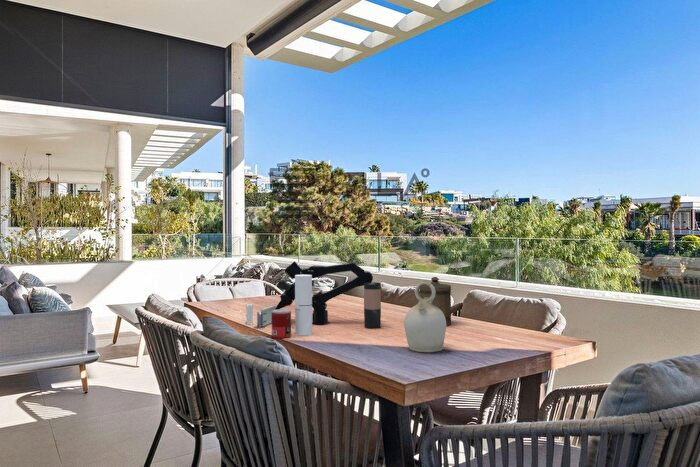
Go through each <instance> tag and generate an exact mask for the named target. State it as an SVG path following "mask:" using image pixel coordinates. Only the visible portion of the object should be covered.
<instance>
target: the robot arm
mask: <svg viewBox="0 0 700 467" xmlns="http://www.w3.org/2000/svg"><path fill="white" fill-rule="evenodd" d="M283 272H284V273H286V275H287V276H288V277H289V278H291V280H294V279H295V275H312V287H314V286H315V280H313V279H316V278H319V277H324V276H325V275H331V274H338V273H344V272H345V273H346V272H352V273H354V275H356V277H354V278H353V279H352V280H350V281H347V282H344V283H343V284H340V285H338V286H336V287H335V288H332V289H330V290H328V291H325V292H323V290H322V289H320V290H319V291H318V292H316V293H314V294H313V293H312V325H321V326H324V325H326V324H329V323H330V321H329V318H328V317H329V315H328V314H329V313H328V312H329V311H328V310H327V307H328V304H327V302H329V301H330V300H332V299H334V298H336V297H338V296H341V295H342V294H344V293H346V292H348V291H351V290H353V289H355V288H358V287H362V286H363V287H364V283H369V282H373V280H374V277H373V273H372V272H371V271H368V270H365V269H364V268H361V266H359V265H357V264H356V263H355V261H354V262H353V261H351V262H347V263H341V264H333V265H311V266H309V267H307V268H302V267H301V266H300V265H299V264H298V263H297V262H296V261H295V260H294V261H293V262H292V263H291V264H290V265H288V266H287V267H286V268H284V270H283ZM276 288H278V289H279V288H280V289H282V290H284V292H283V293H282V294H280V295H279V297H280V301H279V302H278V304H277V305H276V308H275V310H277V309H284V308H286V307H287V306H289V307H290V306H291V305H292V304H294V302H295V281H294V282H293V283H291V284H290V283H288V282H287V281H285V280H282V279H279V280H278V282H277V285H276Z"/></svg>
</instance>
